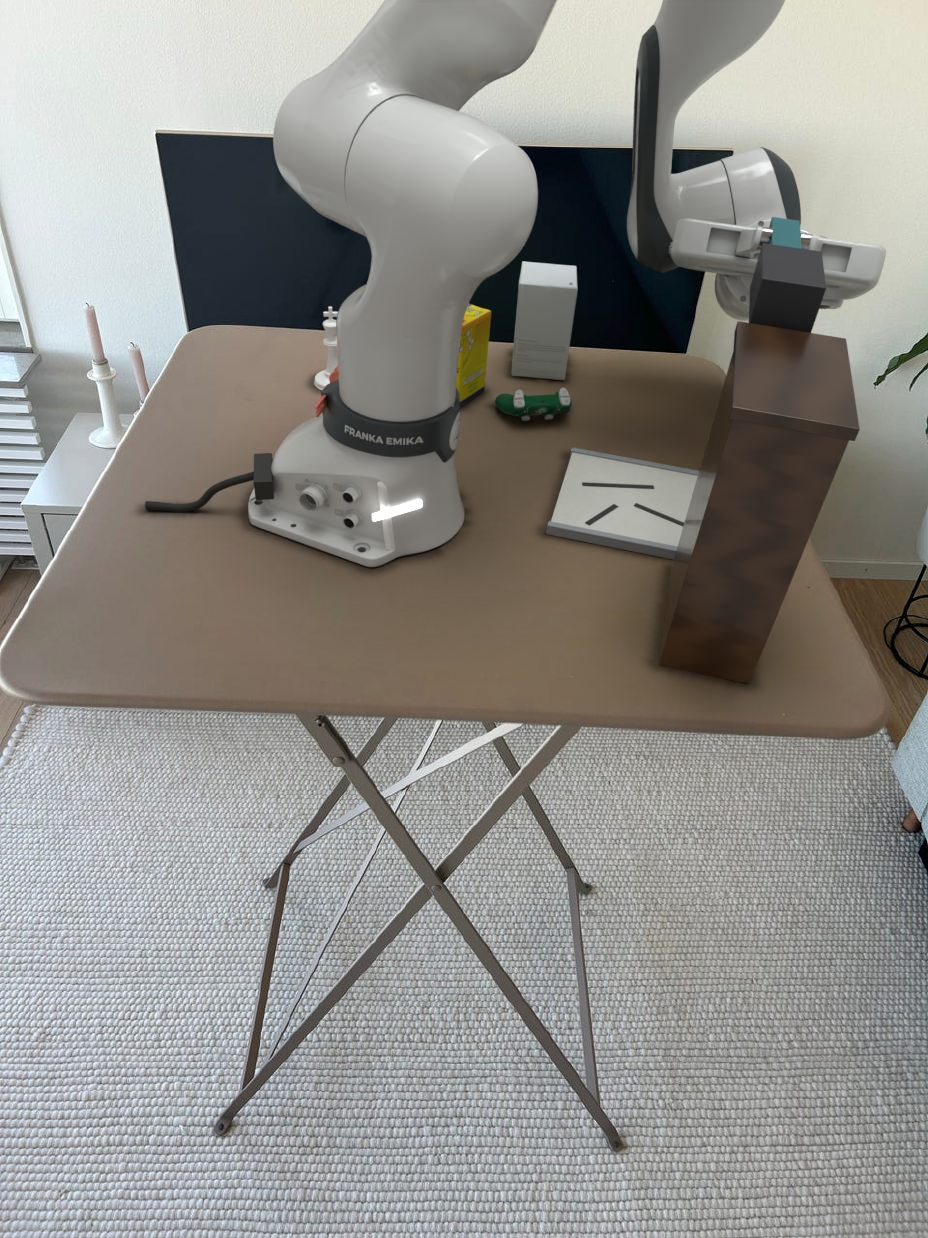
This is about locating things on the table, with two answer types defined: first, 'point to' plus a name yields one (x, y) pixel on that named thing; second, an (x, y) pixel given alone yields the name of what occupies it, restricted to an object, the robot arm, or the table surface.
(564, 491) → the whiteboard
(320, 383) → the chess piece
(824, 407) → the walnut pedestal
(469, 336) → the supplement box
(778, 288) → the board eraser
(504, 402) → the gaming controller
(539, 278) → the white packaging box
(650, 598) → the table surface
